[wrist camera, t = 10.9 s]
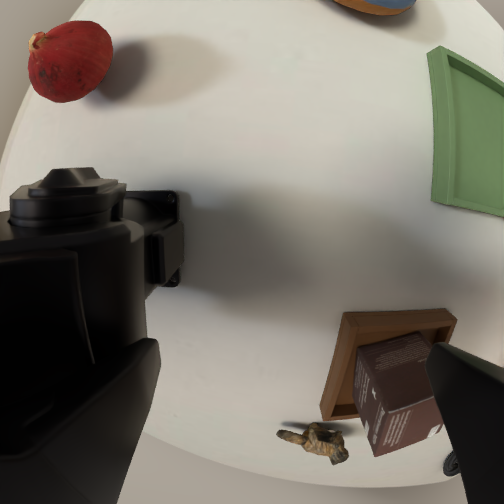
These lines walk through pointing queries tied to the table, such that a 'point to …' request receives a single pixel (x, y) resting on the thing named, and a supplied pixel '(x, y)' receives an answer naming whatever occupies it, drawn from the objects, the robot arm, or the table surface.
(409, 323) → the walnut tray
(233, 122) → the table surface
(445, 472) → the cable
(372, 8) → the doughnut
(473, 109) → the produce tray
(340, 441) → the cat figurine
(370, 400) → the box
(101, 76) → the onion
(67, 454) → the robot arm
